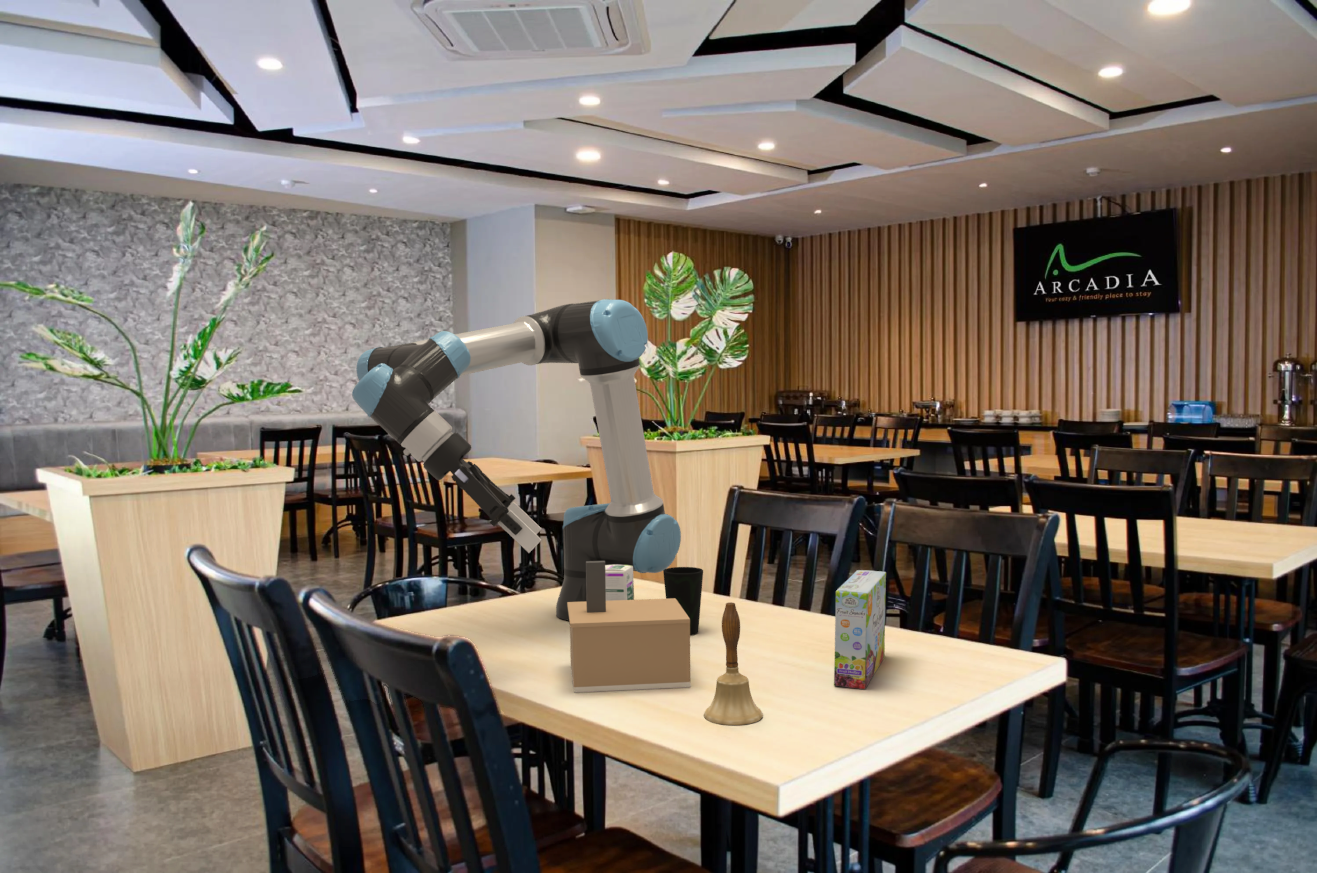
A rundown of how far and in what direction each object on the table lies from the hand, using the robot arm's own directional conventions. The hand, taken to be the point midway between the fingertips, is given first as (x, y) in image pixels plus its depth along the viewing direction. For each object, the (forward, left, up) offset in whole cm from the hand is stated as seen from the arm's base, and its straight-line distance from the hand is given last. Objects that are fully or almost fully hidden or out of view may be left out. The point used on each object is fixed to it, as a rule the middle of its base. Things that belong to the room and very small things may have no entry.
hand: (535, 540), depth 156 cm
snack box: (-46, +25, -23) cm, 57 cm away
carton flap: (-13, +6, -12) cm, 19 cm away
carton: (-13, +6, -22) cm, 27 cm away
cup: (-37, -14, -23) cm, 46 cm away
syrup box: (-21, -12, -23) cm, 33 cm away
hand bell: (-15, +32, -23) cm, 42 cm away
